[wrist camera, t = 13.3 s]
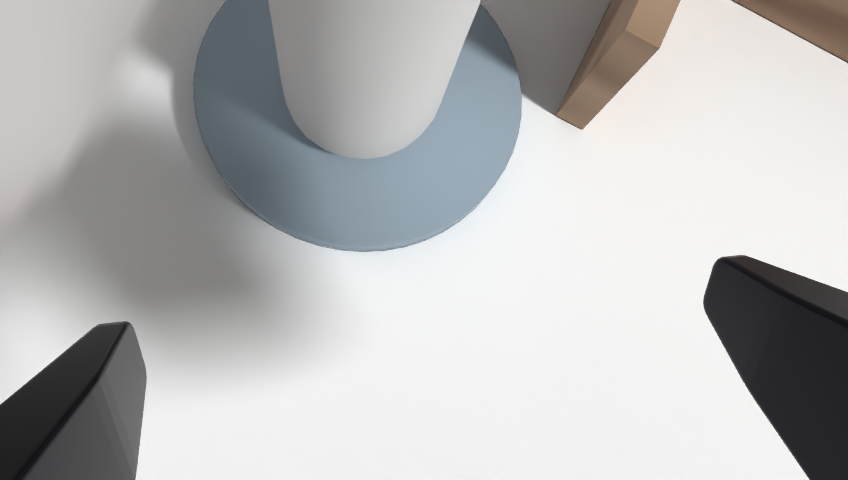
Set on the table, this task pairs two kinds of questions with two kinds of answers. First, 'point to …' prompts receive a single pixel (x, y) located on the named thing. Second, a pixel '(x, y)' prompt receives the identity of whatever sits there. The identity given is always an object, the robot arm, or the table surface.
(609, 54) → the frame
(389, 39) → the beverage can
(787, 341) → the robot arm
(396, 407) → the table surface
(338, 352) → the table surface
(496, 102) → the pad
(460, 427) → the table surface
